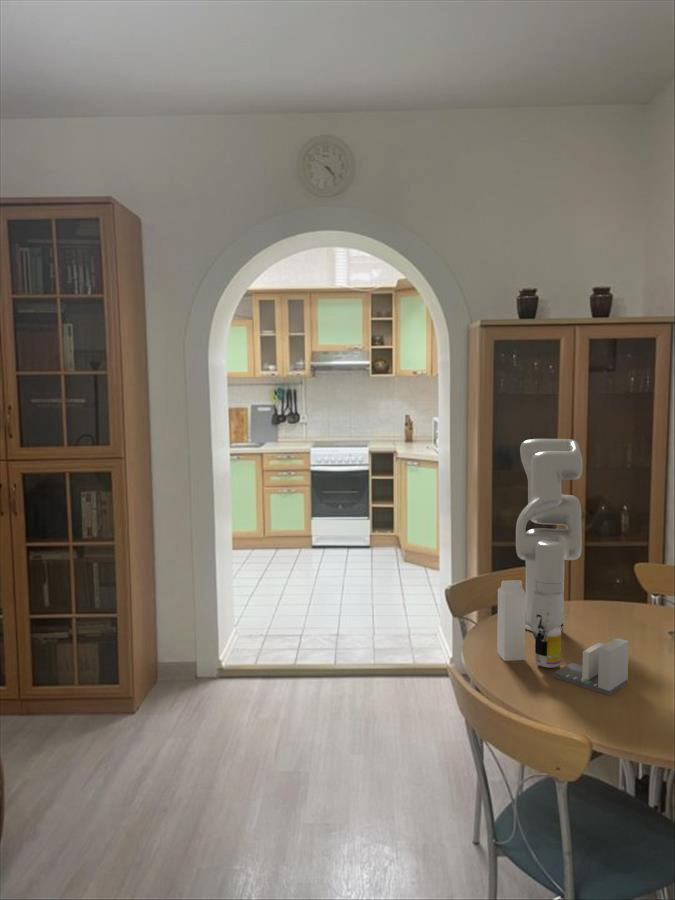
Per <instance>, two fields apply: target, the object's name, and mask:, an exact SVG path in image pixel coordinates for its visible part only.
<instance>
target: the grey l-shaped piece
mask: <svg viewBox="0 0 675 900" xmlns="http://www.w3.org/2000/svg"><path fill="white" fill-rule="evenodd" d="M629 642H630V641H629V640H626V639H622V638H619V637H616V638H615V639H613V640H611V641H609V642H607V643H604V644H605V645H604V646H602V647H600V648H599V665H598V674H597V675H596V676H594V677H592V678H591V679H589V680H584V681H582V680H581V678H582V664H580V663H577V662H571V663H569V664H567V665H565V666H564V667H561V668H560V669H558V670H556V671H555V672H553V678H555V679H558V680H561V681H564V682H566V681H567V683H569V682H570V683H569V684H572V683H573V684H572V685H576V686H579V687H582V688H585V689H588V690H591V691H594V692H597V693H600V694H603V695H606V696H609V697H610V696H612V695H613V694H615V693H616V692H617V691H619V690H621V689H622V688H623V687H625V686H626V685H628V679H629V678H628V677H629V676H628V674H629V644H630V643H629Z"/></svg>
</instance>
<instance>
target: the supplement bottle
mask: <svg viewBox="0 0 675 900" xmlns="http://www.w3.org/2000/svg"><path fill="white" fill-rule="evenodd" d="M555 624H557V622H556V623H555ZM540 628H541V629H544V627H540ZM540 633H541V635H542V636H543V632H542V631H540ZM546 641H547V656H542V655H539V654H536V653H535V655H534V658H535V659H534V660H535V662H536V663H535V664H536V665H538V666H540V667H543V668H544V667H545V668H547V669H549V668H551V669H552V668H553V669H555V668H557V667H559V666H560V665H561V662H562V634H561V630H560V628H559V627H555V628H554V629H552V630H550V631H548V633H547V637H546Z"/></svg>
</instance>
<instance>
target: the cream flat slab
mask: <svg viewBox="0 0 675 900" xmlns="http://www.w3.org/2000/svg"><path fill="white" fill-rule="evenodd" d="M605 644H606V643H605V642H600V641H599V642H596V644H593V645H592V646H590V647H588V648H586V649H585V650H583V651H582V664H581V665H582V678H581V680H582V681H584V680H589V679H591V678H592V677H594V676H596V675H597V674H598V665H599V648H600V647H602V646H604V645H605Z"/></svg>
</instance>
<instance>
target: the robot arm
mask: <svg viewBox="0 0 675 900" xmlns="http://www.w3.org/2000/svg"><path fill="white" fill-rule="evenodd" d="M519 452H520V453H519V454H520V461H521V464H522V465H523V467H522V468H523V469H524V472H525V474H526V477H527V501H528V502H527V505H526V506H525V507H524V508H523V509H522V510H521V512H520V513H519V515H518V517H517V520H516V524H515V525H516V526H515V550H516V551H515V552H516V554H517V557H518V558H519V559H520V560H522V561H525V594H526V604H525V630H527V631H530V632H531V634H532V635H533V638H534V640H535V641H534V643H535V645H534V647H535V649H534V652H535V653H536V654H539V655H542V656H547V641H546V637H547V633H548V631H550V630H552V629H554V628H555V627H559V628H560V630H561V635H562V634H563V627H564V621H565V619H566V616H565V597H564V593H565V560H566V561H574V560H575V561H576V560H578V559H579V558H580V557H581V554H582V548H583V547H582V546H583V540H582V538H583V537H582V533H583V531H582V525H583V524H582V506H581V503H580V500H579V498H578V497H577V496H575V495H572V494H563V493H562V481H563V480H566V481H567V480H568V481H569V480H570V481H571V480H572V481H574V480H579V479H580V478H581V477H582V474H583V466H584V465H583V464H584V463H583V457H582V454H581V450H580V445H579V443H578V442H577V440H574V439H570V438H532V439H527V440H524V441H523V442H522V443H521V444H520V448H519ZM529 521H531V522H532V523H534V524H540V525H559V526H560V525H562V526H564V527H565V528H543V527H542V528H541V527H539V528H538V527H537V528H536V527H535V528H531V529H528V530H527V531H526V528H527V524H528V522H529ZM556 622H557V624H555V623H556ZM540 627H544V629H541V628H540ZM540 631H542V632H543V636H542V635H541V633H540Z"/></svg>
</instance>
